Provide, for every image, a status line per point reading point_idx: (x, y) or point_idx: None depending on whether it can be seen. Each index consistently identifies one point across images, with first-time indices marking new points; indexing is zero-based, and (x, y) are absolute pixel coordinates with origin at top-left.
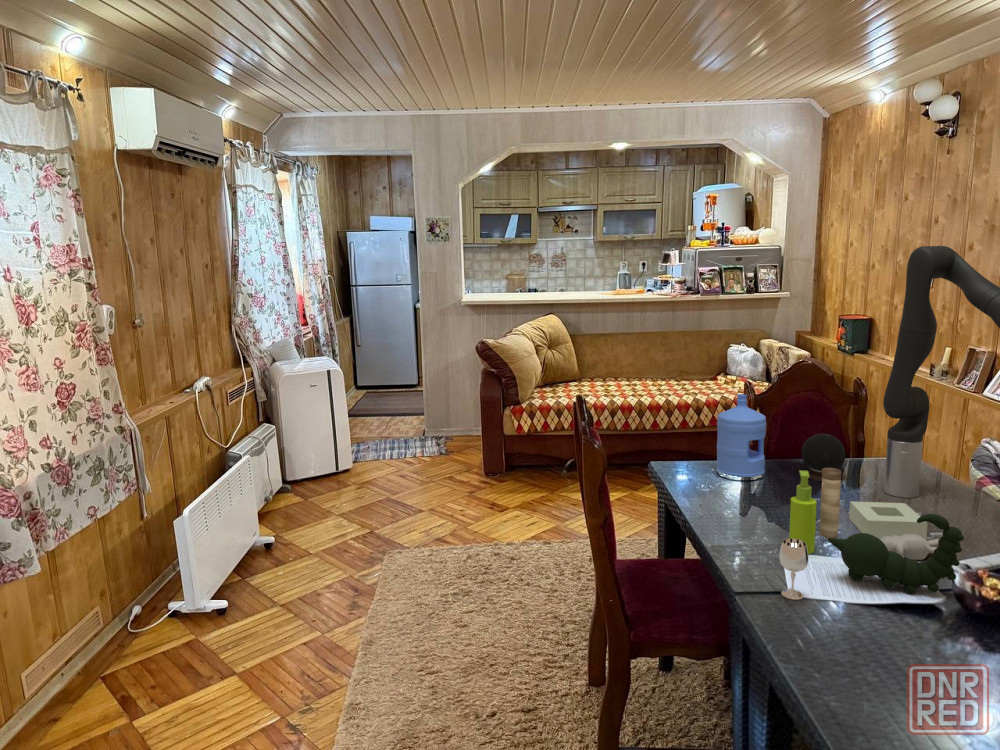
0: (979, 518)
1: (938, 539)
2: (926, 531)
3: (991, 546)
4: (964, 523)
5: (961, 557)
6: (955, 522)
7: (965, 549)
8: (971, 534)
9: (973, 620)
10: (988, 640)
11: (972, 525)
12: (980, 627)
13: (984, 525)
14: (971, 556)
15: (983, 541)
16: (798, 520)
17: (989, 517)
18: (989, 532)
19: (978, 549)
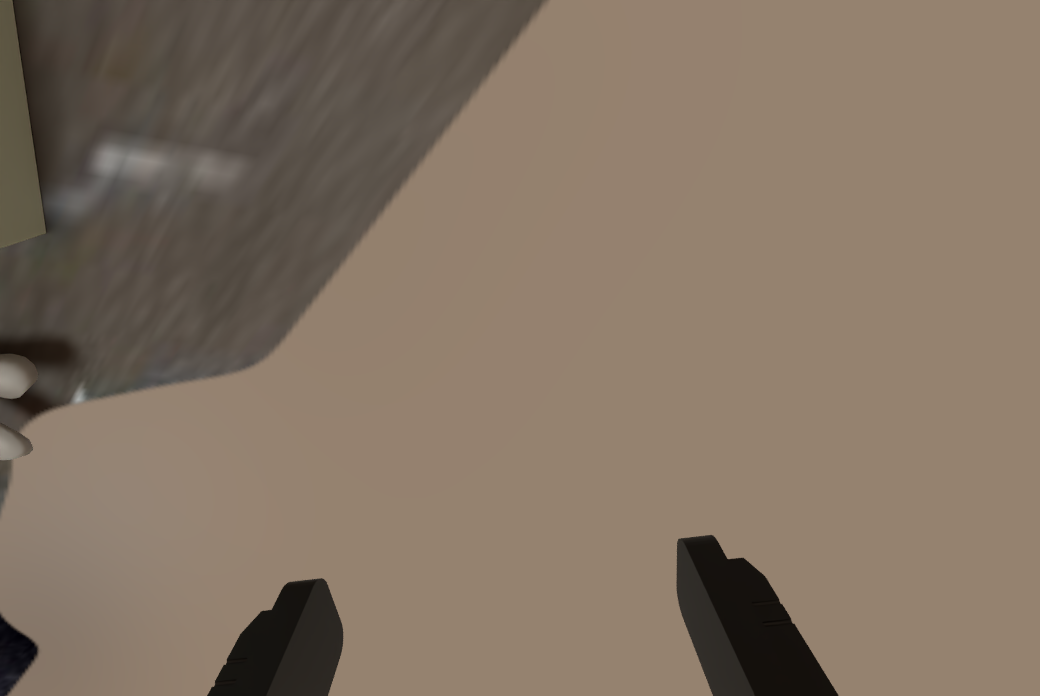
0: (468, 8)
1: (1, 376)
2: (6, 244)
3: (300, 317)
4: (342, 63)
5: (134, 380)
6: (303, 38)
7: (183, 327)
8: (293, 200)
9: (12, 633)
10: (14, 677)
11: (366, 98)
12: (17, 650)
13: (423, 110)
14: (175, 378)
15: (299, 273)
16: None
17: (530, 6)
18: (387, 193)
19: (234, 333)
